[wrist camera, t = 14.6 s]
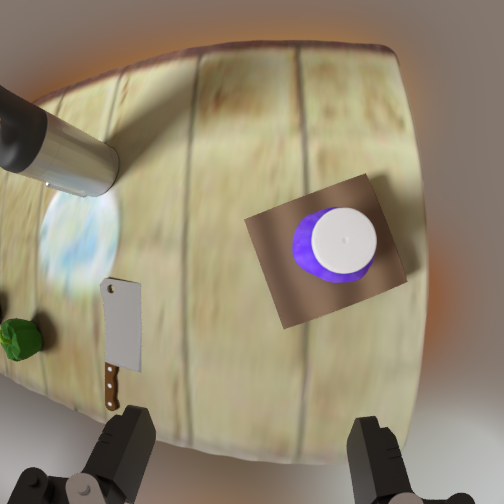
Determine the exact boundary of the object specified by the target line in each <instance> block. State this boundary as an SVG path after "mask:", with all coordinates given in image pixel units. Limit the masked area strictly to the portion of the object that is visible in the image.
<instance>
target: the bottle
mask: <svg viewBox="0 0 504 504" xmlns="http://www.w3.org/2000/svg"><path fill="white" fill-rule="evenodd" d="M376 245H377V237H376V232H375V229H374V227H373V224H372V223H371V221H370V220H369V219H368V218H367V217H366V216H365V215H364V214H363V213H361V212H359V211H357V210H355V209H352V208H344V207H331V208H326V209H323V210H320V211H318V212H315V213H312V214H309V215H307V216H306V217H305V218H304V219H303V220H302V221H301V222H300V223H299V225H298V227H297V229H296V230H295V234H294V238H293V247H292V251H293V257H294V259H295V261H296V263H297V264H298V265H299V266H300V267H301V268H302V269H303V270H305V271H307V272H308V273H310V274H313V275H315V276H317V277H319V278H321V279H323V280H325V281H329V282H333V283H341V282H354V281H357V280H359V279H361V278H362V277H363V276H364V275H365V274H366V273H367V272H368V269H369V267H370V266H371V265H372V263H373V259H374V255H375V250H376Z"/></svg>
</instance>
